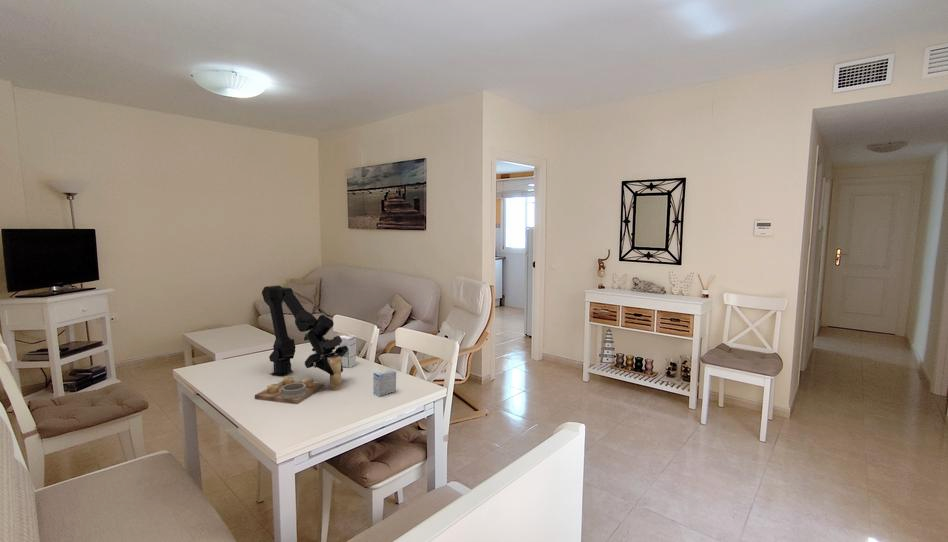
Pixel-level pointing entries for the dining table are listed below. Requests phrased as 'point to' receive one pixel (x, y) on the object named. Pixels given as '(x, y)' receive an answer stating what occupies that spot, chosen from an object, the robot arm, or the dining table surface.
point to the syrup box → (350, 356)
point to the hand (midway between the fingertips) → (337, 373)
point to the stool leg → (335, 373)
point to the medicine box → (384, 382)
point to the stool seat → (290, 390)
